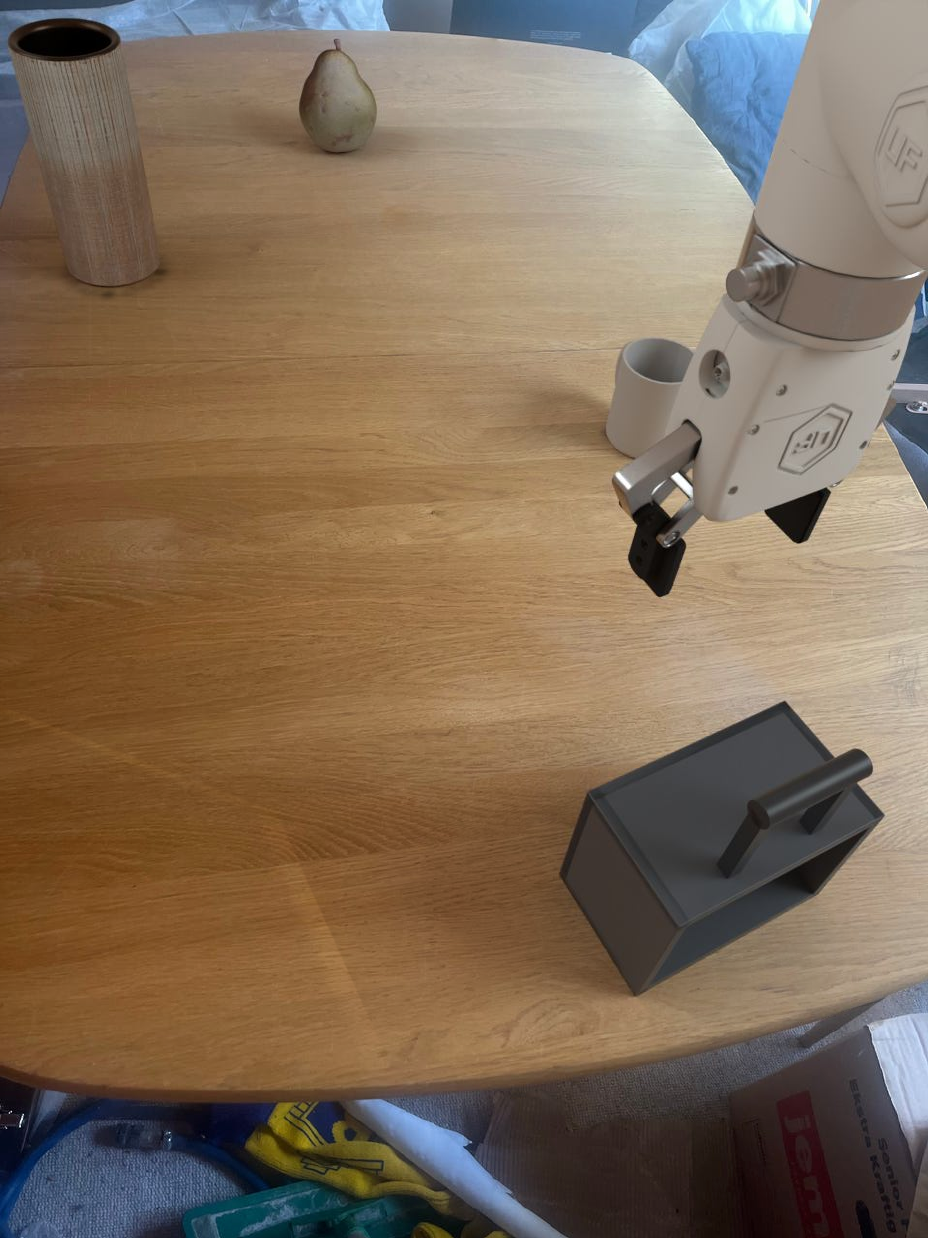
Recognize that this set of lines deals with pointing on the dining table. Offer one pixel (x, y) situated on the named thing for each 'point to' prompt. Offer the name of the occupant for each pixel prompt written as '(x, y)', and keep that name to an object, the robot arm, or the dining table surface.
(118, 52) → the planter
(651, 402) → the cup
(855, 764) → the grey tool caddy
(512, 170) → the dining table surface
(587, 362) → the dining table surface
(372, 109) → the fruit
